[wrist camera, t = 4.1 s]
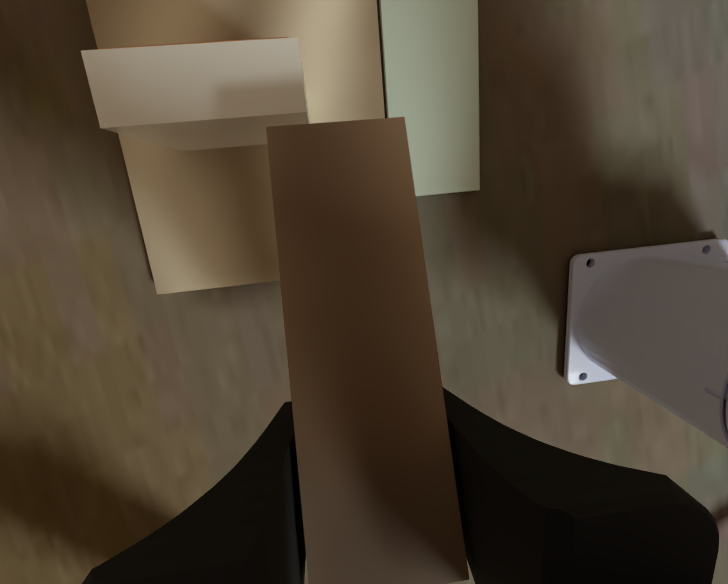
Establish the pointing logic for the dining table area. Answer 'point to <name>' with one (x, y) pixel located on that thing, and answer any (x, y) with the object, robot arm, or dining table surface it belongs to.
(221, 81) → the tile
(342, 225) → the bar
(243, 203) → the board
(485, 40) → the dining table surface
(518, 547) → the robot arm
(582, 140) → the dining table surface
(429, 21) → the pad
